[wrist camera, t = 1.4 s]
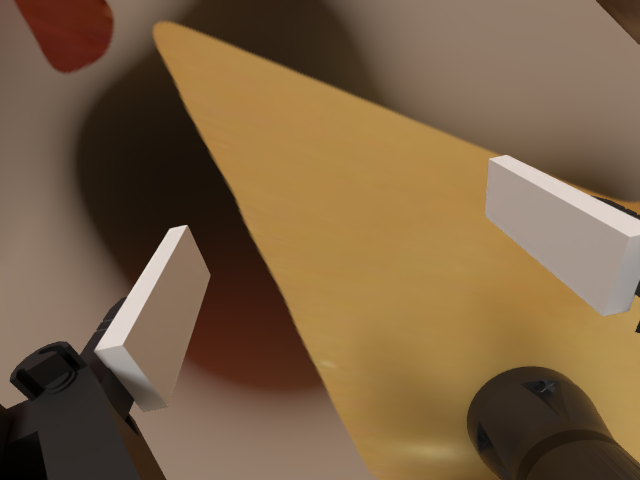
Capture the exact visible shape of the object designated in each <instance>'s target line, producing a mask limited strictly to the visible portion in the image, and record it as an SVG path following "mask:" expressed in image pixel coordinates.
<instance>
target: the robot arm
mask: <svg viewBox="0 0 640 480" xmlns="http://www.w3.org/2000/svg"><path fill="white" fill-rule="evenodd" d="M485 217H487V218H488V219H489V220H490V221H491V222H492V223H494V224H495V225H496V226H497V227H498V228H500V229H501V230H502V231H503V232H504V233H505V234H507V235H508V236H509V237H510V238H511V239H512V240H514V241H515V242H516V243H517V244H518V245H520V246H521V247H522V248H523V249H524V250H525V251H527V252H528V253H529V254H530V255H531V256H532V257H534V258H535V259H536V260H537V261H538V262H540V263H541V264H542V265H543V266H544V267H545V268H547V269H548V270H549V271H550V272H551V273H552V274H554V275H555V276H556V277H557V278H558V279H559V280H561V281H562V282H563V283H564V284H565V285H567V286H568V287H569V288H570V289H571V290H572V291H574V292H575V293H576V294H577V295H578V296H579V297H581V298H582V299H583V300H584V301H585V302H587V303H588V304H589V305H590V306H591V307H592V308H594V309H595V310H596V311H597V312H598V313H599V314H601V315H602V316H607V315H612V314H617V313H621V312H626V311H629V309H630V307H631V304H632V302H633V299H634V297H635V294H636V295H637V296H638V297H640V215H637V213H636V212H634V211H632V210H629V209H625V207H623V206H621V205H619V204H617V203H615V202H613V201H611V200H607V199H603V198H599V197H595V196H589V195H587V194H585V193H583V192H581V191H579V190H577V189H575V188H573V187H571V186H569V185H567V184H565V183H563V182H561V181H559V180H557V179H555V178H553V177H551V176H549V175H547V174H545V173H543V172H541V171H539V170H537V169H535V168H533V167H530V166H528V165H526V164H524V163H522V162H520V161H518V160H516V159H514V158H512V157H510V156H508V155H504V156H500V157H495V158H491V159H489V166H488V180H487V194H486V207H485ZM209 278H210V273H209V271H208V269H207V267H206V264H205V262H204V260H203V258H202V256H201V254H200V252H199V249H198V247H197V245H196V243H195V241H194V238H193V236H192V234H191V232H190V230H189V228H188V225H185V226H180V227H176V228H172V229H170V230H169V231H168V233H167V235H166V236H165V238H164V239H163V241H162V243H161V244H160V246H159V247H158V249H157V251H156V252H155V254H154V255H153V257H152V259H151V260H150V262H149V263H148V265H147V267H146V268H145V270H144V271H143V273H142V275H141V276H140V278H139V280H138V281H137V283H136V284H135V286H134V287H133V289H132V291H131V292H130V294H129V295H128V297H124V298H122V299H121V300H120V301H118V302H117V303H116V304H115V305H114V306H113V307H112V308H111V309H110V310H109V312H108V313H107V315H106V316H105V318H104V319H103V322H102V323H101V324H100V325H99V327H98V328H97V332H95V333H94V334H93V336H92V337H91V339H90V340H89V342H88V343H87V345H86V346H85V348H84V349H83V351H82V353H81V354H80V355H78V353H77V352H76V351H75V350H74V349H73V348H72V346H71V345H70V344H69V343H67V342H60V341H59V342H56V343H52V344H48V345H46V346H44V347H42V348H40V349H38V350H37V351H35V352H34V353H32V354H31V355H29V356H28V357H26V358H25V359H24V360H23V361H22V362H21V363H20V364H19V365H18V366H17V367H16V368H15V370H14V371H13V373H12V374H11V377H10V382H11V383H12V384H13V385H14V386H15V387H16V388H18V390H20V391H21V392H22V393H23V394H24V395H25V396H26V397H27V398H28V400H26V401H24V402H22V403H19V404H17V405H15V406H13V407H10V408H8V409H6V408H4V407H3V406H2V405H1V404H0V480H166V478H165V476H164V474H163V472H162V471H161V469H160V467H159V465H158V463H157V461H156V460H155V458H154V456H153V454H152V452H151V450H150V448H149V447H148V445H147V443H146V441H145V439H144V437H143V436H142V433H141V432H140V430H139V428H138V426H137V424H136V422H135V420H134V419H133V418H132V416H131V415H130V414H129V411H130V409H131V406H132V404H133V402H134V401H135V402H136V404H137V405H138V406H139V407H140V408H141V410H142V411H143V412H146V411H151V410H156V409H160V408H166V407H168V406H169V402H170V400H171V397H172V393H173V390H174V387H175V384H176V381H177V378H178V374H179V372H180V369H181V365H182V362H183V359H184V356H185V353H186V350H187V346H188V343H189V341H190V337H191V334H192V331H193V328H194V325H195V322H196V319H197V316H198V313H199V309H200V306H201V303H202V300H203V297H204V294H205V291H206V288H207V284H208V281H209ZM635 332H637V333H640V321H639V324H638V326H637V329H636V331H635ZM467 429H468V433H469V437H470V439H471V441H472V443H473V445H474V447H475V449H476V451H477V453H478V454H479V456H480V458H481V459H482V460H483V462H484V463H485V464H486V465H487V466H488V467H489V468H490V469H491V470H492V471H493V472H494V473H495V474H496V475H497V476H498V477H499V478H500V479H501V480H640V463H639V462H638V461H636V460H635V459H634V458H633V457H632V456H631V455H630V454H629V453H628V452H626V451H625V450H624V449H623V448H622V447H621V446H620V445H619V444H618V443H617V442H616V441H615V440H614V439H613V437H612V435H611V433H610V432H609V430H608V428H607V427H606V425H605V423H604V421H603V420H602V418H601V416H600V414H599V413H598V411H597V409H596V408H595V406H594V404H593V402H592V401H591V400H590V398H589V397H588V396H587V395H586V394H585V392H584V391H583V390H581V389H580V388H579V387H578V386H577V385H576V384H575V383H573V382H572V381H571V380H570V379H569V378H567V377H566V376H564V375H563V374H561V373H559V372H557V371H554V370H551V369H547V368H542V367H521V368H516V369H512V370H509V371H506V372H504V373H501V374H499V375H497V376H496V377H494V378H493V379H491V380H490V381H488V382H487V383H486V384H485V385H484V386H483V387H482V388H481V389H480V390H479V391H478V393H477V394H476V395H475V397H474V399H473V400H472V402H471V405H470V407H469V411H468V416H467Z"/></svg>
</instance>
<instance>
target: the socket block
mask: <svg viewBox="0 0 640 480" xmlns="http://www.w3.org/2000/svg"><path fill="white" fill-rule="evenodd" d="M596 1H597V2H598V3H599V4H600V5H601V6H602V7H603V8H604V9H605V10H606V11H607V12H608V13H609V14H610V15H611V16H612V17H613V18H614V19H615V21H616V22H617V23H619V25H620V26H621V27H622V28H623V29H624V30H625V31H626V32H627V33H628V34H629V35H630V36H631V37H632V38H633V39H634V40H635V41H636V42H637V43H638V44H640V0H596Z"/></svg>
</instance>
